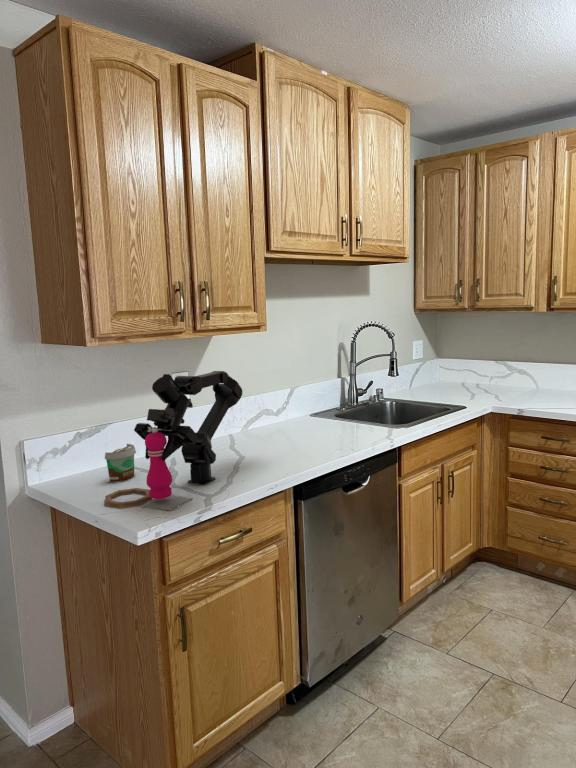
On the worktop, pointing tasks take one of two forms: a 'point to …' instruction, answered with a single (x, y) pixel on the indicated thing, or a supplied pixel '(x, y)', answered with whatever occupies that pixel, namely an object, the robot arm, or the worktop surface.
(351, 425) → the worktop surface
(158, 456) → the pepper mill
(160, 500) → the slate mat
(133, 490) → the walnut holder ring
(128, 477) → the food container
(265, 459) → the worktop surface
